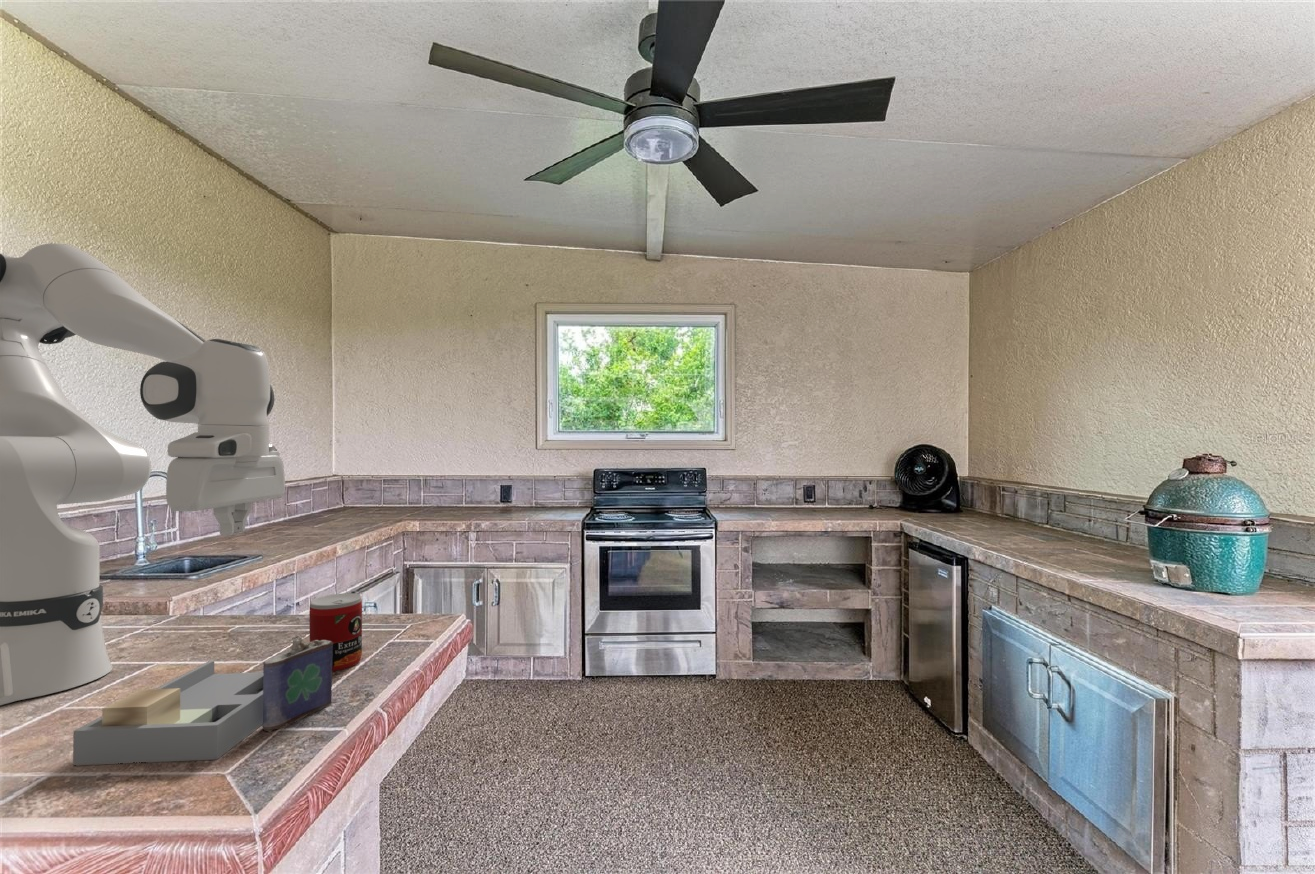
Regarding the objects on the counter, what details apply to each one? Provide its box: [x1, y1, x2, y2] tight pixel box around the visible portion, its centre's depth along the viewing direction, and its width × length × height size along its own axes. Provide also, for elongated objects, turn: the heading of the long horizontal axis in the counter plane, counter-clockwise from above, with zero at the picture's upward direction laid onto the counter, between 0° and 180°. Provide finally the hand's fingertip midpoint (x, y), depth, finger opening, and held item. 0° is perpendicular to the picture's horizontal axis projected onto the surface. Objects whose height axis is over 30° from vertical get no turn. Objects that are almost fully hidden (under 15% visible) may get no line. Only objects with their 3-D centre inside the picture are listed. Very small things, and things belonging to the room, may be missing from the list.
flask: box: [261, 635, 333, 733], centre depth 76 cm, size 9×3×11 cm, turn 157°
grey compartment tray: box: [72, 660, 264, 767], centre depth 75 cm, size 16×21×4 cm
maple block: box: [101, 688, 180, 727], centre depth 68 cm, size 5×5×4 cm
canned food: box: [308, 592, 363, 672], centre depth 94 cm, size 8×8×11 cm
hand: (232, 533), depth 85 cm, fingers closed
